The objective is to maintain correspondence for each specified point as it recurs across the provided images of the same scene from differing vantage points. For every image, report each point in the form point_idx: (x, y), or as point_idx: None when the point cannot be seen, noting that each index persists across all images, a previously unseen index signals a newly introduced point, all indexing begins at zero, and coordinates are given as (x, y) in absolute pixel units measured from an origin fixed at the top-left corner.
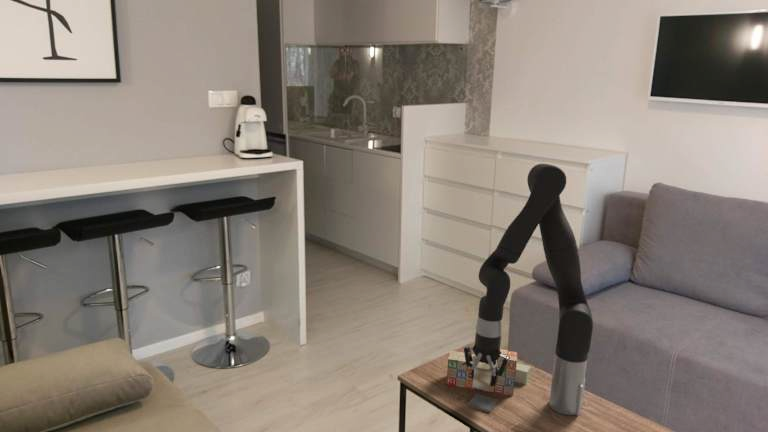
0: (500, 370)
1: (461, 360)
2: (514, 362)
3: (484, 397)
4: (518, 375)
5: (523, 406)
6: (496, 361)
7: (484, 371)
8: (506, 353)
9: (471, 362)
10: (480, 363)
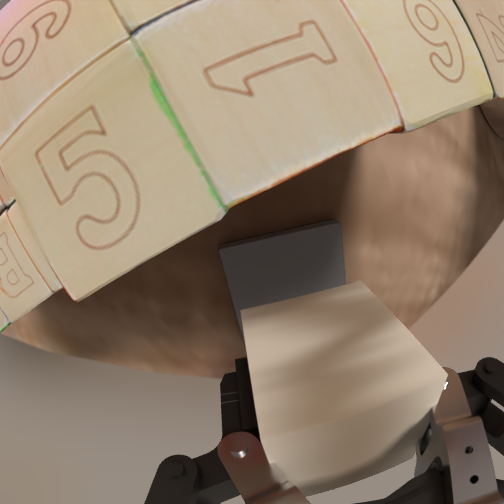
0: (485, 430)
1: (19, 305)
2: None
3: (277, 251)
4: None
5: (429, 169)
6: (484, 441)
7: (368, 476)
8: None
9: (213, 496)
10: (285, 456)
